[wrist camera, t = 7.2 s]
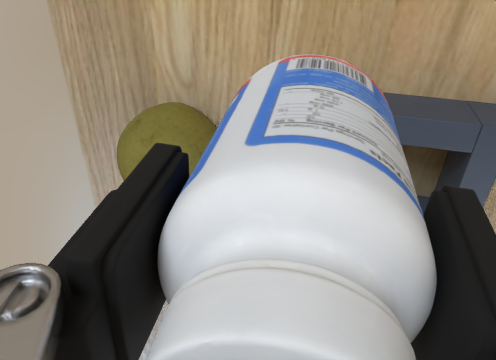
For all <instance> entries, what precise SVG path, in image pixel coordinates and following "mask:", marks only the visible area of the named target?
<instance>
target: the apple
mask: <svg viewBox="0 0 496 360" xmlns="http://www.w3.org/2000/svg"><path fill="white" fill-rule="evenodd" d="M216 130H217V128H216V126H215V125H214V124H213V123H212V121H211V120H210V119H209V118H208V117H206V116H205V115H204V114H203V113H201V112H200V111H198V110H196V109H195V108H193V107H190V106H188V105H185V104H181V103H164V104H160V105H156V106H153V107H151V108H149V109H146V110H145V111H143V112H142V113H140V114H139V115H137V116H136V117H135V118H134V119H133V120H132V121H131V122H130V123H129V124H128V125H127V126H126V128H125V129H124V131H123V132H122V134H121V137H120V139H119V141H118V146H117V163H118V168H119V171H120V173H121V176H122V178H123V180H124V181H125V179H126V178H127V177H128V176H129V174H130V173H131V172H132V171H133V170H134V168H135V167H136V166H137V165H138V164H139V162H140V161H141V160H142V159H143V157H144V156H145V155H146V154H147V153H148V151H149V150H150V149H151V148H152V147H153V145H154V144H155V143H164V144H170V145H177V146H180V147H181V149H182V152H184V153H187V154H188V156H189V177H190V175H191V174H192V172H193V170H194V168H195V167H196V165H197V163H198V161H199V160H200V158H201V156H202V154H203V153H204V151H205V149H206V147H207V146H208V144H209V142H210V140H211V139H212V137H213V135H214V133H215V131H216Z"/></svg>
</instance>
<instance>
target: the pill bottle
mask: <svg viewBox="0 0 496 360" xmlns="http://www.w3.org/2000/svg"><path fill="white" fill-rule="evenodd" d="M158 273H159V278H160V283H161V287H162V289H163V292H164V295H165V297H166V299H167V302H168V304H169V306H168V308H167V310H166V312H165V314H164V316H163V318H162V321H161V325H160V327H159V330H158V332H157V334H156V337H155V339H154V341H153V344H152V346H151V349H150V351H149V354H148V356H147V359H146V360H416V358H415V353H414V350H413V348H412V346H411V342H412V341H413V340H414V339H415V338H416V336H417V335H418V334H419V332H420V331H421V329H422V328H423V326H424V324H425V323H426V321H427V319H428V317H429V315H430V312H431V309H432V306H433V302H434V297H435V293H436V286H437V275H436V266H435V258H434V253H433V250H432V246H431V242H430V238H429V234H428V230H427V227H426V223H425V220H424V216H423V213H422V210H421V207H420V204H419V201H418V198H417V194H416V191H415V187H414V184H413V181H412V178H411V175H410V171H409V168H408V165H407V161H406V158H405V155H404V152H403V149H402V146H401V143H400V139H399V136H398V133H397V129H396V126H395V122H394V119H393V115H392V112H391V110H390V107H389V105H388V102H387V100H386V98H385V96H384V95H383V93H382V91H381V90H380V88H379V87H378V86H377V85H376V83H375V82H374V81H373V80H372V79H371V78H370V77H369V76H368V75H367V74H365V73H364V72H363V71H361V70H360V69H358V68H357V67H355V66H353V65H352V64H349V63H347V62H345V61H343V60H340V59H337V58H333V57H329V56H323V55H296V56H290V57H287V58H283V59H280V60H278V61H275V62H273V63H271V64H269V65H267V66H265V67H264V68H262V69H261V70H259V71H258V72H256V73H255V74H254V75H253V76H252V77H251V78H250V79H249V80H248V81H247V82H246V83H245V84H244V85H243V86H242V88H241V89H240V90H239V92H238V93H237V94H236V96H235V97H234V99H233V101H232V103H231V105H230V106H229V108H228V110H227V112H226V114H225V115H224V117H223V119H222V121H221V122H220V124H219V126H218V128H217V130H216V131H215V133H214V135H213V137H212V139H211V140H210V142H209V144H208V146H207V147H206V149H205V151H204V153H203V154H202V156H201V158H200V160H199V161H198V163H197V165H196V167H195V168H194V170H193V172H192V174H191V175H190V177H189V179H188V181H187V182H186V184H185V186H184V187H183V189H182V191H181V193H180V194H179V196H178V198H177V200H176V202H175V204H174V206H173V208H172V210H171V211H170V213H169V215H168V217H167V219H166V222H165V224H164V227H163V229H162V233H161V236H160V241H159V245H158Z"/></svg>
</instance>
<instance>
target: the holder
mask: <svg viewBox="0 0 496 360" xmlns="http://www.w3.org/2000/svg"><path fill="white" fill-rule="evenodd" d="M383 95H384V96H385V98H386V100H387V102H388V105H389V107H390V110H391V112H392V115H393V119H394V122H395V126H396V129H397V133H398V136H399V139H400V143H401V145H409V146H418V147H426V148H435V149H443V150H449V152H448V155H447V157H446V160H445V163H444V166H443V169H442V172H441V174H440V177H439V180H438V183H437V186H436V188H435V190H436V191H441V189H442V188H443V187H444V186H452V187H459V188H466V189H472V190H474V191H475V193H476V195H477V197H478V199H479V201H480V203H481V205H482V207H483V206H484V204H485V202H486V199H487V197H488V195H489V193H490V190H491V188H492V186H493V184H494V181H495V179H496V104H491V103H481V102H471V101H460V100H450V99H440V98H430V97H421V96H411V95H401V94H392V93H383ZM417 198H418V201H419V204H420V207H421V210H422V213H423V214H424V212H425V209H426V206H427V204H428V201H429V198H430V197H424V196H417Z"/></svg>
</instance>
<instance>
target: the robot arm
mask: <svg viewBox="0 0 496 360" xmlns="http://www.w3.org/2000/svg"><path fill="white" fill-rule="evenodd" d="M188 179H189V156H188V154H187V153H184V152H182V149H181V147H180V146H177V145H170V144H164V143H155V144H154V145H153V147H152V148H151V149H150V150H149V151H148V153H147V154H146V155H145V156H144V157H143V159H142V160H141V161H140V162H139V164H138V165H137V166H136V167H135V168H134V170H133V171H132V172H131V173H130V174H129V176H128V177H127V178H126V179H125V181H124V182H123V183H122V184H121V185H120V187H119V188H118V189H117V190H113V191H111V192H110V193H109V194H108V195H107V196H106V197H105V198H104V200H103V201H102V202H101V203H100V204H99V205H98V207H97V208H96V209H95V210H94V211H93V213H92V214H91V215H90V216H89V217H88V219H87V220H86V221H85V222H84V223H83V224H82V226H81V227H80V228H79V229H78V230H77V232H76V233H75V234H74V235H73V236H72V237H71V239H70V240H69V241H68V242H67V243H66V245H65V246H64V247H63V248H62V249H61V251H60V252H59V253H58V254H57V255H56V256H55V258H54V259H53V260H52V261H51V262H50V264H49V265H48V266H46V265H43V264H36V263H25V264H19V265H14V266H10V267H8V268H5V269H2V270H0V360H138V359H139V357H140V355H141V353H142V351H143V349H144V346H145V344H146V342H147V340H148V338H149V335H150V333H151V331H152V329H153V327H154V325H155V322H156V320H157V318H158V316H159V314H160V311H161V309H162V307H163V305H164V303H165V301H166V297H165V295H164V292H163V289H162V287H161V283H160V278H159V273H158V245H159V241H160V236H161V233H162V229H163V227H164V224H165V222H166V219H167V217H168V215H169V213H170V211H171V210H172V208H173V206H174V204H175V202H176V200H177V198H178V196H179V194H180V193H181V191H182V189H183V187H184V186H185V184H186V182H187V181H188ZM423 216H424V220H425V223H426V227H427V230H428V234H429V238H430V242H431V246H432V250H433V253H434V258H435V266H436V275H437V286H436V293H435V297H434V302H433V306H432V309H431V312H430V315H429V317H428V319H427V321H426V323H425V324H424V326H423V328H422V329H421V331H420V332H419V334H418V335H417V336H416V338H415V339H414V340H413V341H412V342H411V346H412V348H413V350H414V353H415V358H416V360H496V234H495V232H494V230H493V228H492V226H491V224H490V222H489V220H488V218H487V216H486V213H485V211H484V209H483V207H482V205H481V203H480V201H479V199H478V197H477V195H476V193H475V191H474V190H472V189H466V188H459V187H452V186H444V187H443V188H442V189H441V191H436V190H435V191H433V192H432V194H431V196H430V198H429V201H428V204H427V206H426V209H425V212H424V214H423Z"/></svg>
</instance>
